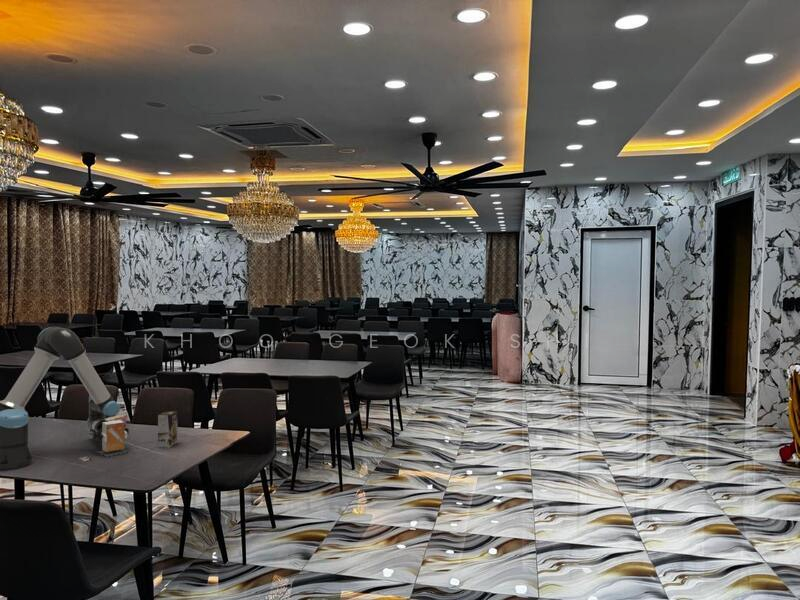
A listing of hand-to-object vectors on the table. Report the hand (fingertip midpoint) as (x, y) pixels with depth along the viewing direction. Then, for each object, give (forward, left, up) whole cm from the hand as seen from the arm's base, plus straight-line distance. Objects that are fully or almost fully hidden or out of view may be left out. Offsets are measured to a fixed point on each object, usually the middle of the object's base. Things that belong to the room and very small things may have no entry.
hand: (116, 436), depth 263 cm
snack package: (+20, +50, -9) cm, 54 cm away
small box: (+1, +5, -7) cm, 9 cm away
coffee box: (+24, -2, -9) cm, 26 cm away
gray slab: (+1, +5, -9) cm, 10 cm away
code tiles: (-12, +5, -9) cm, 15 cm away
